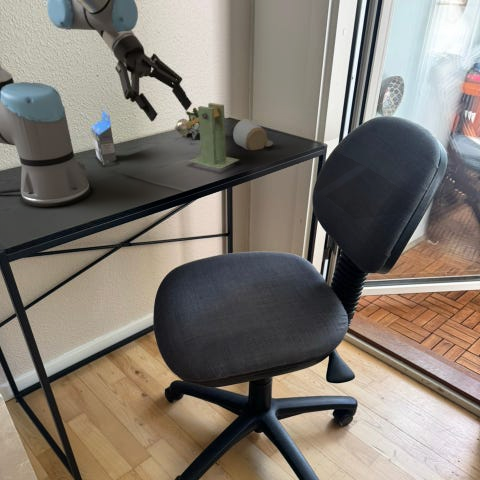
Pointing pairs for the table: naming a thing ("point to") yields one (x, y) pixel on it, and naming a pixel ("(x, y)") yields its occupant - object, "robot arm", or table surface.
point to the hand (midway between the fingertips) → (172, 112)
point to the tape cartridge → (104, 140)
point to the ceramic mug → (250, 135)
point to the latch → (190, 123)
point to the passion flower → (192, 117)
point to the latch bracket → (212, 138)
